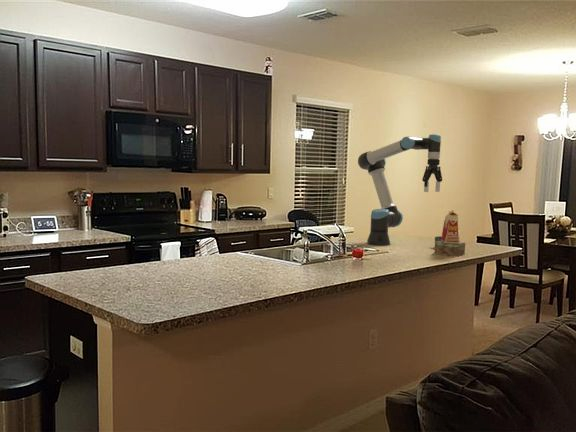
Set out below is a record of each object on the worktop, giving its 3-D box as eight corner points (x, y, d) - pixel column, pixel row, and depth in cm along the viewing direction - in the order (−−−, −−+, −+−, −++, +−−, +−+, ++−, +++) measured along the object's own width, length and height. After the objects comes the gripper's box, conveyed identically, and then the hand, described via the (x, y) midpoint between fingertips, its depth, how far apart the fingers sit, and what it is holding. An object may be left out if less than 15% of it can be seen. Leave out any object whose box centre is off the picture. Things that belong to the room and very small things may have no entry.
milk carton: (459, 243, 319) (461, 210, 317) (444, 243, 319) (446, 210, 317) (455, 241, 328) (457, 209, 326) (440, 241, 328) (442, 209, 326)
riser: (434, 253, 325) (434, 241, 324) (445, 251, 334) (446, 240, 333) (453, 256, 315) (454, 244, 314) (464, 254, 324) (465, 242, 323)
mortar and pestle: (431, 247, 349) (432, 229, 348) (439, 246, 355) (440, 228, 354) (446, 249, 340) (447, 231, 339) (454, 248, 346) (455, 230, 345)
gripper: (428, 158, 328) (426, 192, 330) (449, 159, 345) (447, 191, 347) (417, 158, 334) (416, 191, 336) (438, 159, 351) (436, 191, 353)
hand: (431, 191), depth 341 cm, fingers open, 13 cm apart
